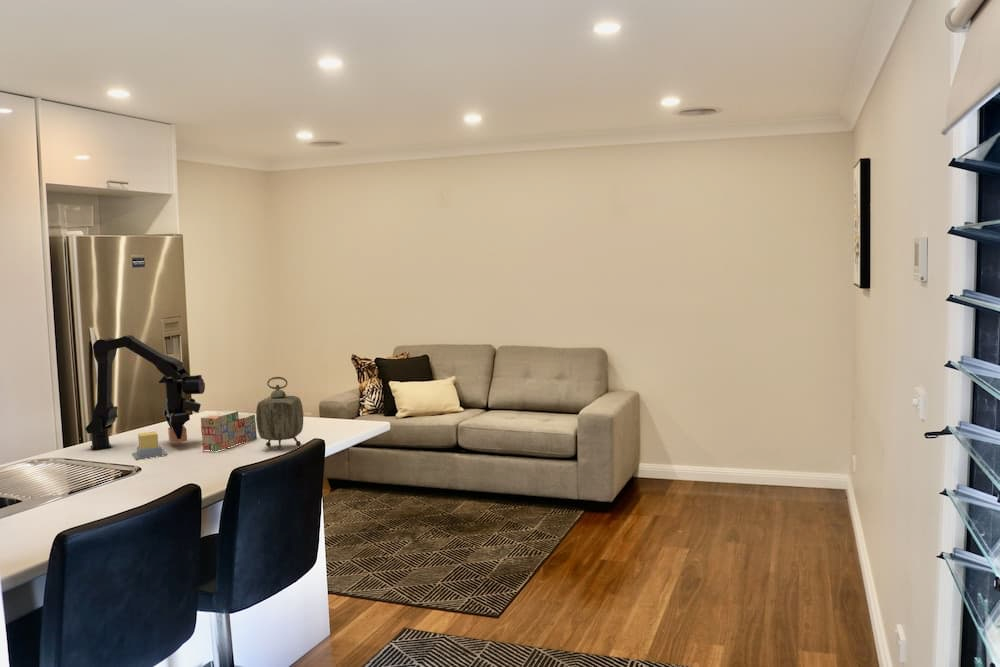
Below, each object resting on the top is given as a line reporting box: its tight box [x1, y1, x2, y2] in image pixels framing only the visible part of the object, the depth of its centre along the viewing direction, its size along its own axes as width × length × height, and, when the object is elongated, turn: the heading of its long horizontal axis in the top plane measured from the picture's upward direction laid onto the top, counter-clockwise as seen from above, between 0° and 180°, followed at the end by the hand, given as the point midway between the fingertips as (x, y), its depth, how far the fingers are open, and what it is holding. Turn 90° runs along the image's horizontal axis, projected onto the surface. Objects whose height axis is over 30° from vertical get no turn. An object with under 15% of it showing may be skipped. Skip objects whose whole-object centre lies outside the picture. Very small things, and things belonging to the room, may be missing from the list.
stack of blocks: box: [200, 410, 258, 451], centre depth 300 cm, size 21×6×12 cm, turn 157°
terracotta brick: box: [167, 425, 188, 444], centre depth 303 cm, size 6×6×4 cm
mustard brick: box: [137, 431, 159, 449], centre depth 288 cm, size 6×6×4 cm
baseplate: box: [131, 443, 168, 461], centre depth 289 cm, size 10×10×3 cm
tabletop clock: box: [255, 376, 304, 450], centre depth 291 cm, size 14×9×25 cm, turn 89°
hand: (177, 437), depth 303 cm, fingers closed on terracotta brick, 6 cm apart
